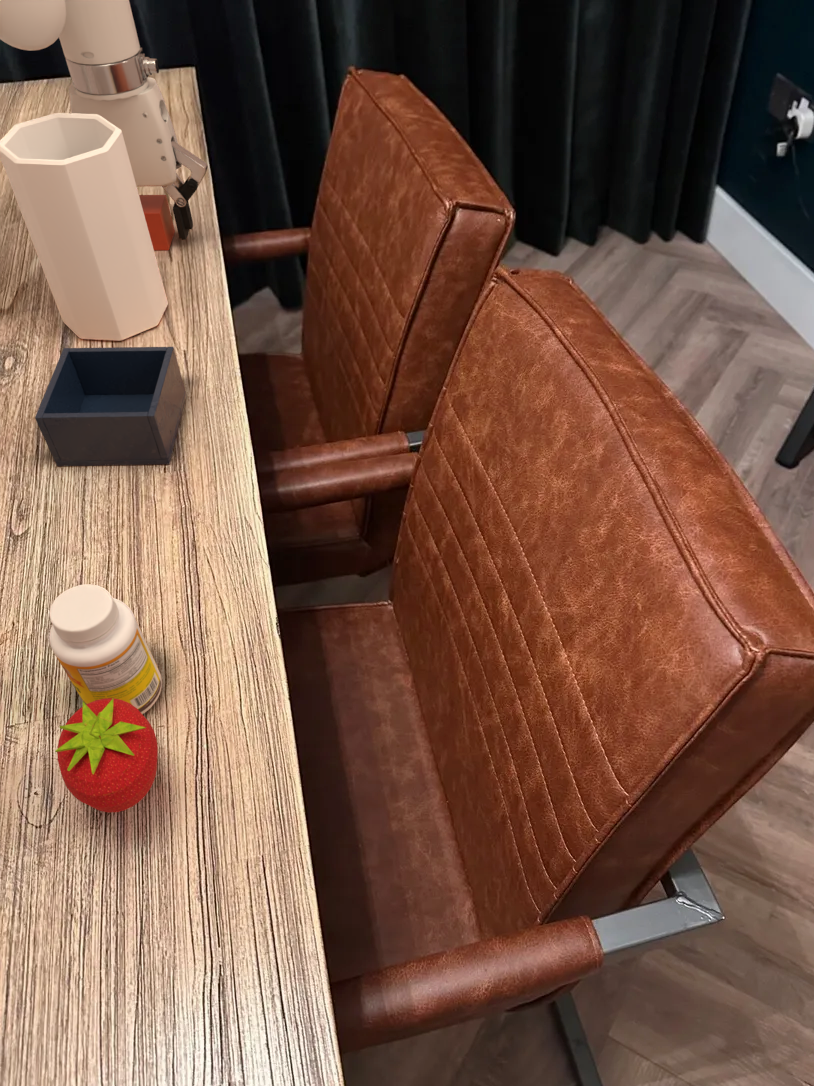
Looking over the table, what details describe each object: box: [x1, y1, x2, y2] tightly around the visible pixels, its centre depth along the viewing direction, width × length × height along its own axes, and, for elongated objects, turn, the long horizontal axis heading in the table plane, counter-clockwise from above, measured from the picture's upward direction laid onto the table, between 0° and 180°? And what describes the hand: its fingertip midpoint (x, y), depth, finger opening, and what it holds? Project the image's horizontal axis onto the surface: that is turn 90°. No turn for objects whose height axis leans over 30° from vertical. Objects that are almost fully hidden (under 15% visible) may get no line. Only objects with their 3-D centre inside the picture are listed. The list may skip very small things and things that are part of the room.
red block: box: [139, 194, 176, 251], centre depth 103 cm, size 4×4×4 cm
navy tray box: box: [34, 346, 187, 467], centre depth 80 cm, size 10×10×6 cm
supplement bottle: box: [48, 583, 163, 715], centre depth 60 cm, size 6×6×10 cm
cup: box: [0, 112, 169, 342], centre depth 88 cm, size 11×11×18 cm
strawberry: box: [54, 698, 159, 813], centre depth 55 cm, size 6×8×10 cm
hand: (151, 233), depth 104 cm, fingers open, 7 cm apart
